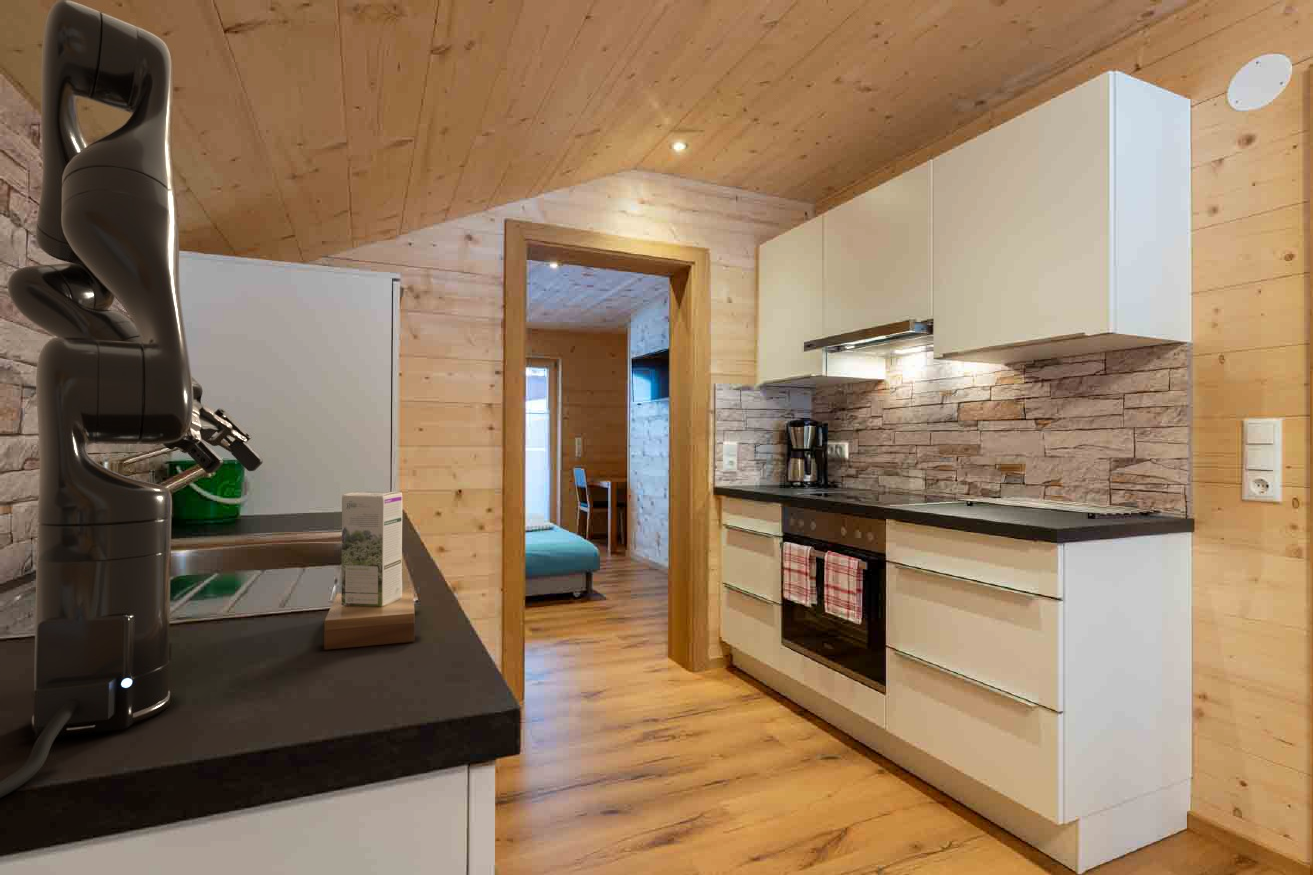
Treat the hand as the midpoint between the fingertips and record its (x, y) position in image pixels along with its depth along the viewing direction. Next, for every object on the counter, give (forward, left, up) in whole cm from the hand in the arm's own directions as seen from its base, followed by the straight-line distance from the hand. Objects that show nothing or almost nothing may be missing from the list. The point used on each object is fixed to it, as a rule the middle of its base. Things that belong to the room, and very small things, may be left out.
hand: (238, 467), depth 88 cm
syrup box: (-5, -17, -18) cm, 25 cm away
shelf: (-5, -17, -21) cm, 28 cm away
